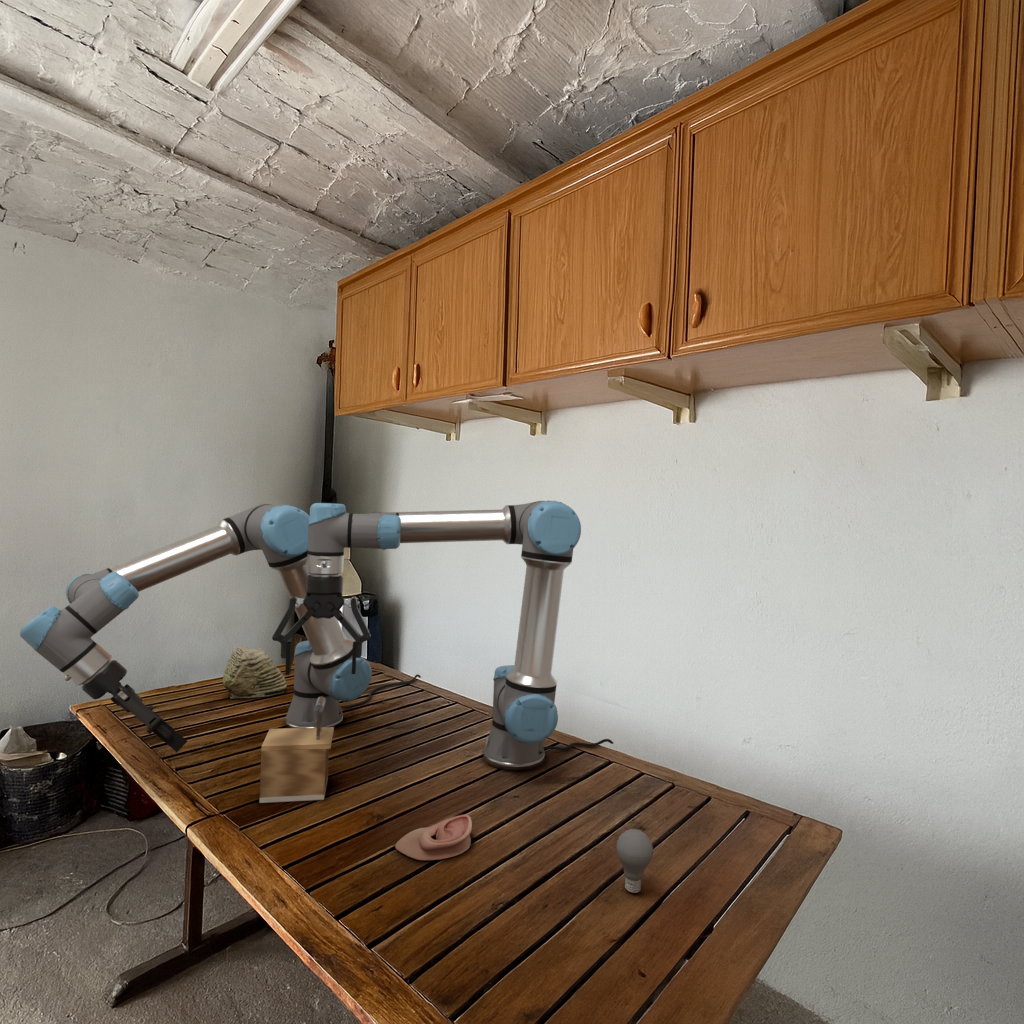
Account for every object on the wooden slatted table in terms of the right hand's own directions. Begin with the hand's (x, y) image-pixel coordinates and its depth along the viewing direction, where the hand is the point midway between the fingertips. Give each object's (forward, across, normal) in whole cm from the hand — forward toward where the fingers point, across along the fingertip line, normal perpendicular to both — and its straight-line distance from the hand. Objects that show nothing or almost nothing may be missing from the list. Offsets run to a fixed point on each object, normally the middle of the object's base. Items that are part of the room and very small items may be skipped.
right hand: (321, 673), depth 137 cm
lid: (+15, -4, 0) cm, 15 cm away
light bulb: (+25, +55, -44) cm, 74 cm away
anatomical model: (+25, +23, -25) cm, 43 cm away
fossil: (+25, -25, +68) cm, 76 cm away
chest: (+25, -4, 0) cm, 26 cm away
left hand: (+14, -29, +2) cm, 32 cm away
